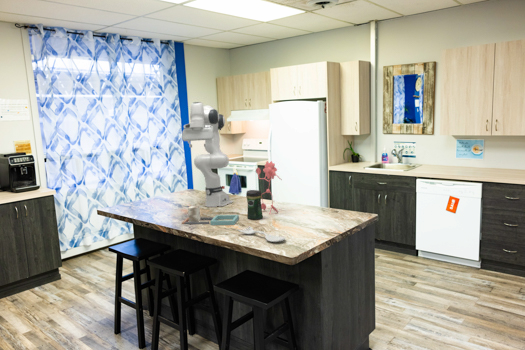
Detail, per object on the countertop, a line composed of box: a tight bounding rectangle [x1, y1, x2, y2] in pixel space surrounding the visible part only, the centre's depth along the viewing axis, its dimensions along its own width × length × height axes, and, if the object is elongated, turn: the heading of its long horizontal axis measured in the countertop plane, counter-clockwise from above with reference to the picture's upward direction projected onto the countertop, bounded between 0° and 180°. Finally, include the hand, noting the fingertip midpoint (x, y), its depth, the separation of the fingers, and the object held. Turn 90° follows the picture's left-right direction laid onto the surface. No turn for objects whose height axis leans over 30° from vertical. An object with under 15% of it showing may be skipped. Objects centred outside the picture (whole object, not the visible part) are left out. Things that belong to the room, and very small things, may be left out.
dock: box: [209, 214, 240, 226], centre depth 260 cm, size 15×15×2 cm
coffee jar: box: [245, 189, 264, 220], centre depth 264 cm, size 10×8×19 cm
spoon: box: [237, 225, 286, 243], centre depth 223 cm, size 9×32×4 cm, turn 43°
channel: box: [181, 216, 215, 225], centre depth 263 cm, size 18×12×2 cm
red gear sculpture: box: [255, 160, 282, 215], centre depth 279 cm, size 15×26×35 cm, turn 42°
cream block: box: [187, 205, 201, 222], centre depth 263 cm, size 6×5×10 cm
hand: (198, 147), depth 266 cm, fingers open, 8 cm apart
